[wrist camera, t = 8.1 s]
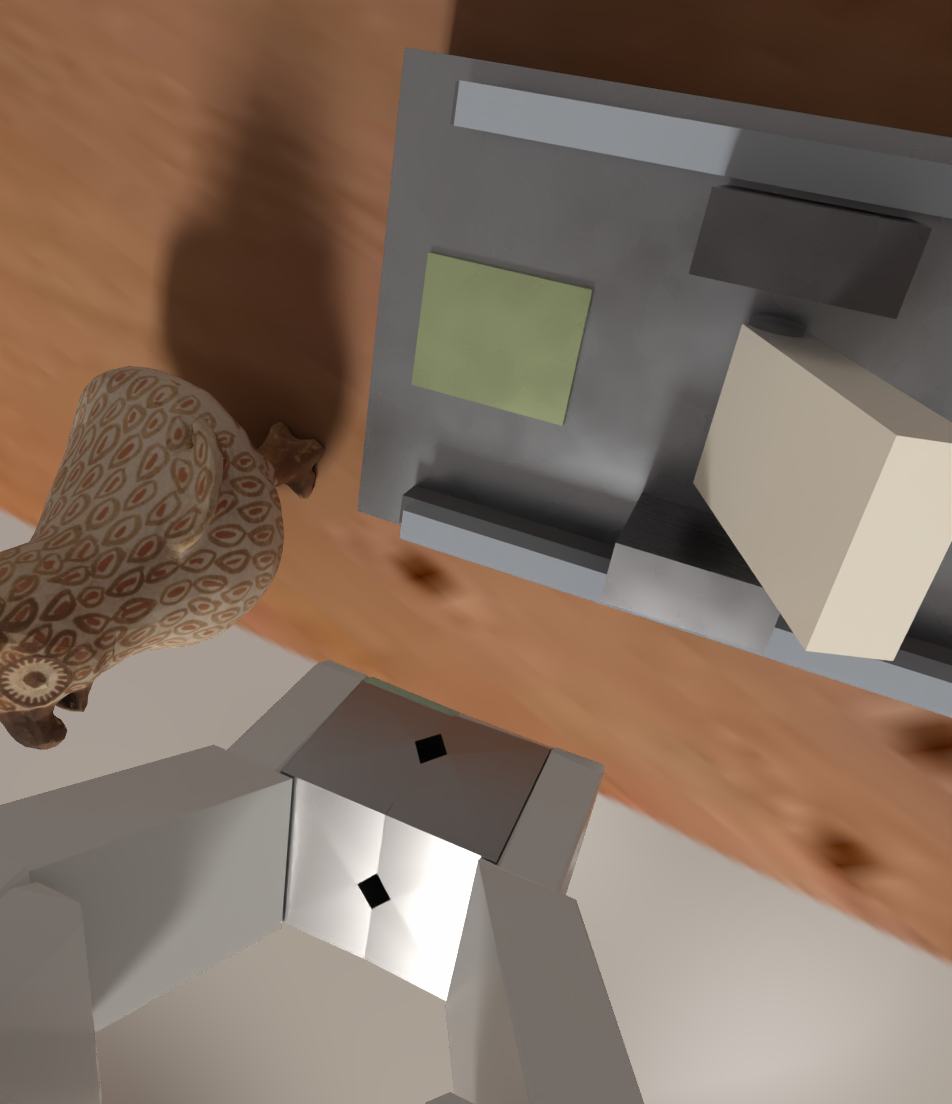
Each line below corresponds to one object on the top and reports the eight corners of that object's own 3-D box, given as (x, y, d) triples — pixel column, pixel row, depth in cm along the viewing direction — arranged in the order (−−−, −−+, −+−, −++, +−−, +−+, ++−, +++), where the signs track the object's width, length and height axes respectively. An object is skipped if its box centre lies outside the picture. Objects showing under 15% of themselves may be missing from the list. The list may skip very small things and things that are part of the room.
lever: (801, 320, 21) (1002, 438, 14) (744, 487, 24) (889, 669, 16) (735, 310, 21) (901, 424, 14) (684, 479, 23) (801, 659, 16)
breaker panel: (1347, 211, 19) (1590, 227, 13) (1055, 686, 26) (1129, 841, 20) (446, 60, 25) (330, 24, 19) (394, 483, 31) (296, 556, 25)
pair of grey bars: (1296, 227, 17) (1349, 233, 16) (1015, 702, 23) (1031, 743, 22) (469, 84, 22) (441, 76, 20) (411, 511, 28) (385, 533, 26)
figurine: (222, 589, 37) (-94, 812, 24) (115, 385, 34) (-300, 512, 21) (386, 540, 32) (111, 778, 20) (279, 304, 30) (-116, 401, 17)
